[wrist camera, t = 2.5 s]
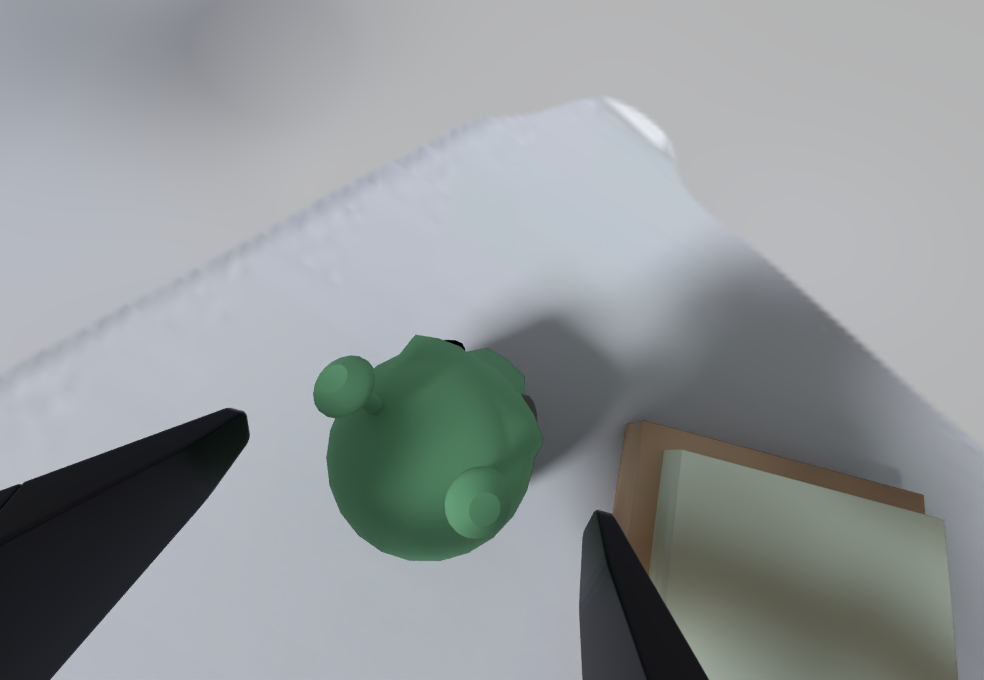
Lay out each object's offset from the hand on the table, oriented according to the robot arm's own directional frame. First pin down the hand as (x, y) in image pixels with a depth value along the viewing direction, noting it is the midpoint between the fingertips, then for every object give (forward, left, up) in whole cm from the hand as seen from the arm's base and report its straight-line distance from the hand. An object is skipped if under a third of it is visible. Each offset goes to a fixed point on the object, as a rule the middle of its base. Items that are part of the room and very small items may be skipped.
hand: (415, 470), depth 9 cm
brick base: (-2, -14, -8) cm, 17 cm away
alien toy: (+1, 0, -9) cm, 9 cm away
